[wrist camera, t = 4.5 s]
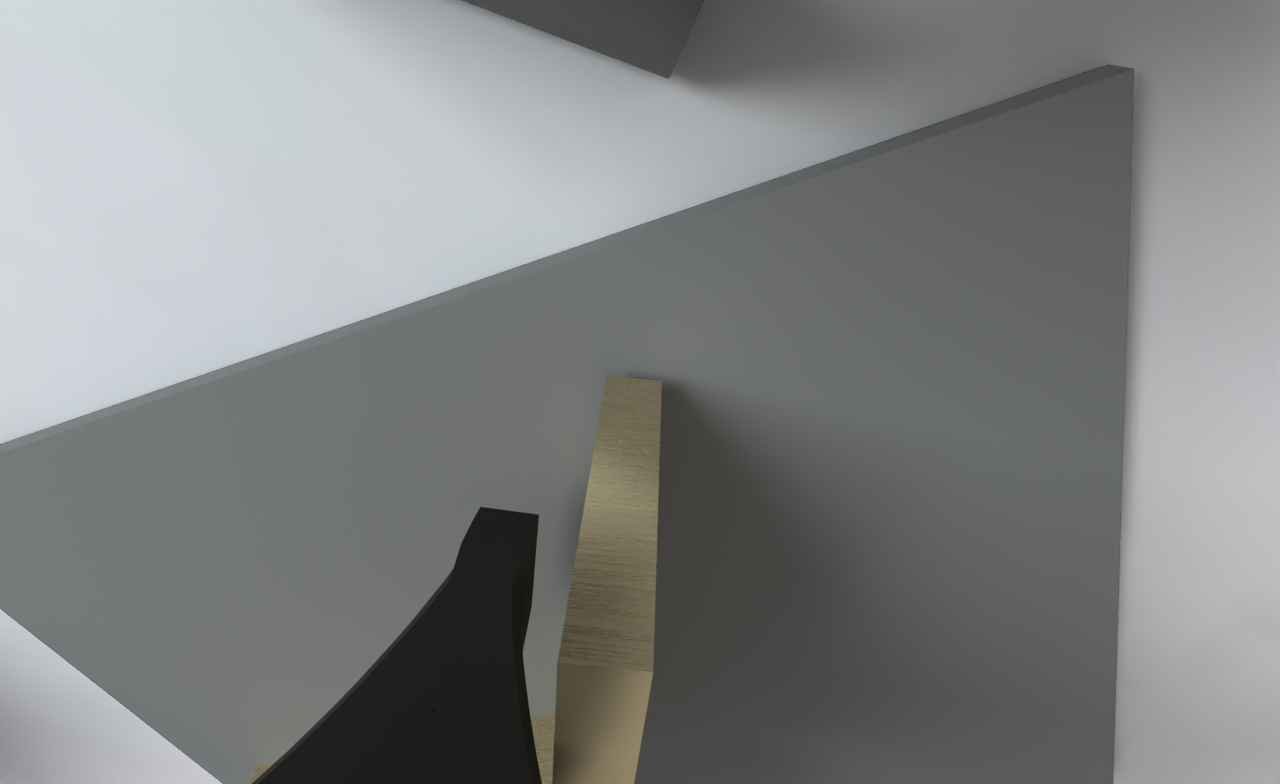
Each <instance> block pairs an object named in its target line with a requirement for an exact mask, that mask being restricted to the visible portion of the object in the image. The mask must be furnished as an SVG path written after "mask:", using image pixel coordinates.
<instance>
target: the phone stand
mask: <svg viewBox="0 0 1280 784" xmlns="http://www.w3.org/2000/svg"><path fill="white" fill-rule="evenodd" d="M463 1H465V2H468V3H471V4H473V5H476V6H479V7H481V8H484V9H486V10H489V11H492V12H494V13H497V14H500V15H502V16H505V17H507V18H510V19H513V20H515V21H518V22H521V23H523V24H526V25H529V26H531V27H534V28H536V29H539V30H542V31H544V32H547V33H550V34H552V35H555V36H557V37H560V38H563V39H565V40H568V41H571V42H573V43H576V44H578V45H581V46H584V47H586V48H589V49H592V50H594V51H597V52H600V53H602V54H605V55H607V56H610V57H613V58H615V59H618V60H621V61H623V62H626V63H628V64H631V65H634V66H636V67H639V68H642V69H644V70H647V71H649V72H652V73H655V74H657V75H660V76H663V77H665V78H669V76H670V74H671V72H672V70H673V67H674V65H675V63H676V61H677V59H678V56H679V54H680V52H681V50H682V48H683V45H684V43H685V41H686V39H687V37H688V34H689V32H690V30H691V28H692V26H693V23H694V21H695V19H696V17H697V14H698V12H699V10H700V8H701V6H702V3H703V1H704V0H463Z"/></svg>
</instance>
